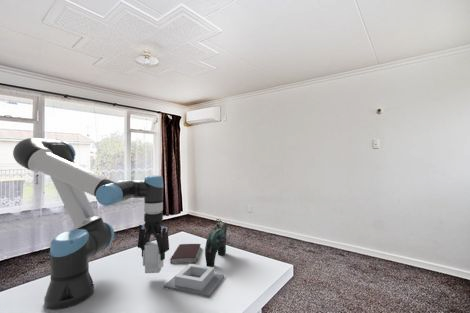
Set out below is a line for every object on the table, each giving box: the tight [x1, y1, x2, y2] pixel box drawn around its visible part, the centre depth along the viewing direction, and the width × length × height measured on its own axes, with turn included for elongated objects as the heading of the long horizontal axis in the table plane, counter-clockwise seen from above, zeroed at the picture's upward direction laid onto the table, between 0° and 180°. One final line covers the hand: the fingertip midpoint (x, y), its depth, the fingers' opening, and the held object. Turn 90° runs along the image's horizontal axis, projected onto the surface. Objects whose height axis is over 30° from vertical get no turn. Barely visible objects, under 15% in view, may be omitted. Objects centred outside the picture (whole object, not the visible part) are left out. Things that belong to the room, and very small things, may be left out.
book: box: [169, 243, 202, 264], centre depth 123 cm, size 12×19×3 cm, turn 0°
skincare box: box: [144, 241, 162, 274], centre depth 99 cm, size 6×4×12 cm
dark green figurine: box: [204, 218, 228, 267], centre depth 117 cm, size 20×6×20 cm, turn 161°
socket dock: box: [163, 263, 226, 298], centre depth 96 cm, size 20×15×4 cm
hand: (153, 265), depth 99 cm, fingers closed on skincare box, 7 cm apart
